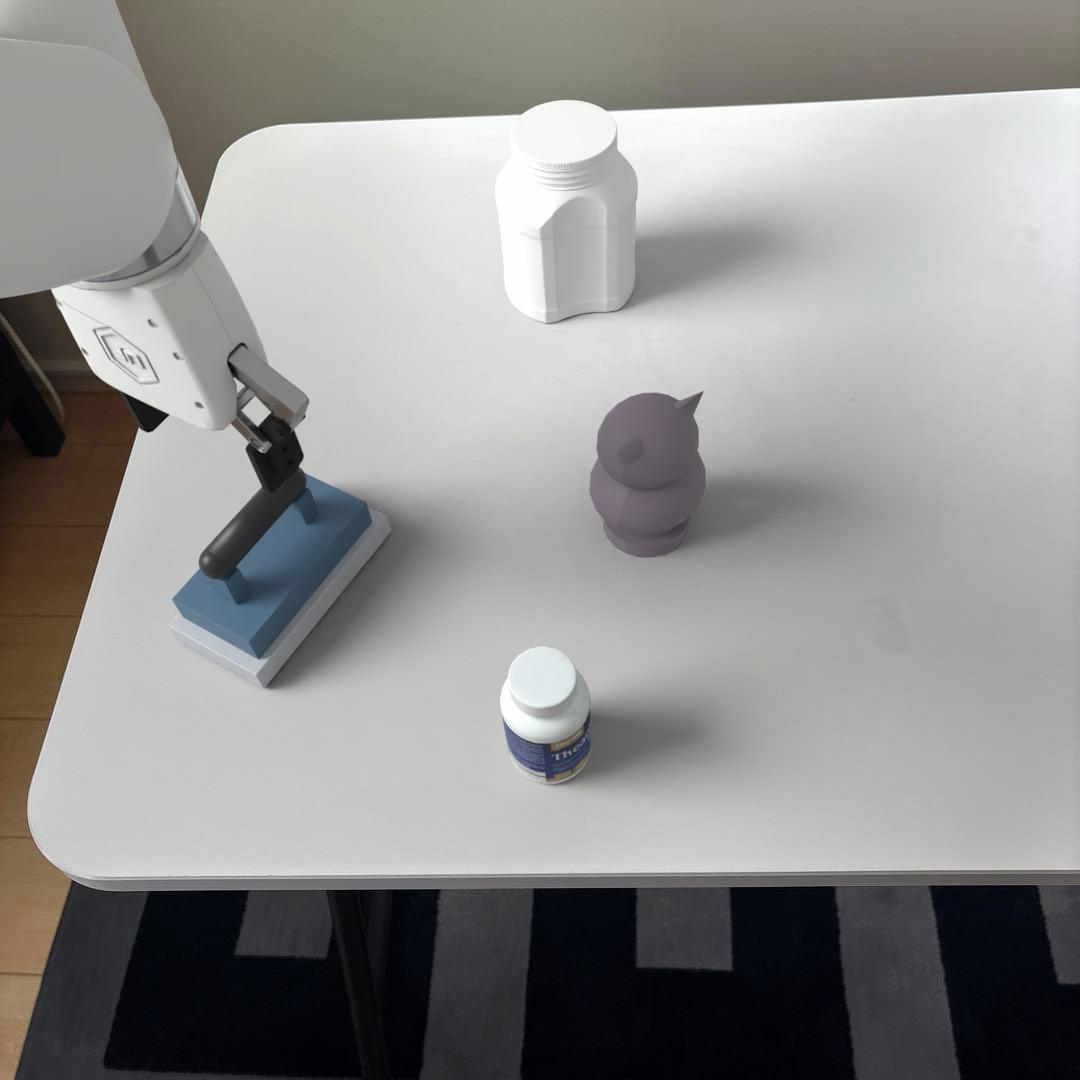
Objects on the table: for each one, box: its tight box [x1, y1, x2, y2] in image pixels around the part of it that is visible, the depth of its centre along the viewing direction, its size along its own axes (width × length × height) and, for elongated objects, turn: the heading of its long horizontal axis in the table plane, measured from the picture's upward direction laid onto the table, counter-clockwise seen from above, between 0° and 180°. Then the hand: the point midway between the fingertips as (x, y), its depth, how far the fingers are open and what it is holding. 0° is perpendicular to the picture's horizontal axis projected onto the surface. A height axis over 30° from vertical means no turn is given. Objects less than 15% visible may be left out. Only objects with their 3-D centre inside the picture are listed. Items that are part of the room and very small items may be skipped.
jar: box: [494, 99, 639, 324], centre depth 88 cm, size 12×10×15 cm
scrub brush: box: [167, 466, 392, 689], centre depth 73 cm, size 15×8×9 cm, turn 149°
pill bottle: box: [499, 645, 592, 785], centre depth 65 cm, size 5×5×10 cm
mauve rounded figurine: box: [588, 390, 707, 558], centre depth 74 cm, size 8×8×12 cm
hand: (222, 444), depth 64 cm, fingers open, 9 cm apart
